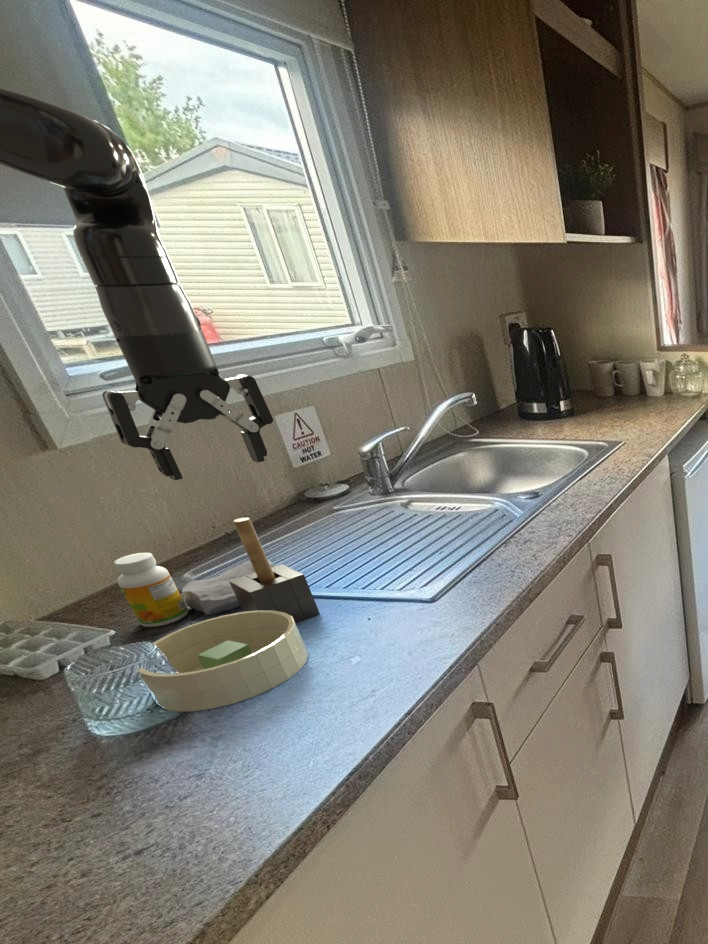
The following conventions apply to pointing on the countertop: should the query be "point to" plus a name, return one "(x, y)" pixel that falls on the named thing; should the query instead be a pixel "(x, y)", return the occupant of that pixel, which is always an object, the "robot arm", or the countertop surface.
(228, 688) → the bowl
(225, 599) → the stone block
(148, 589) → the supplement bottle
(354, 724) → the countertop surface
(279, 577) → the holder
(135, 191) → the robot arm
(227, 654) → the sage block
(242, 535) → the stirrer
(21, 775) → the countertop surface
